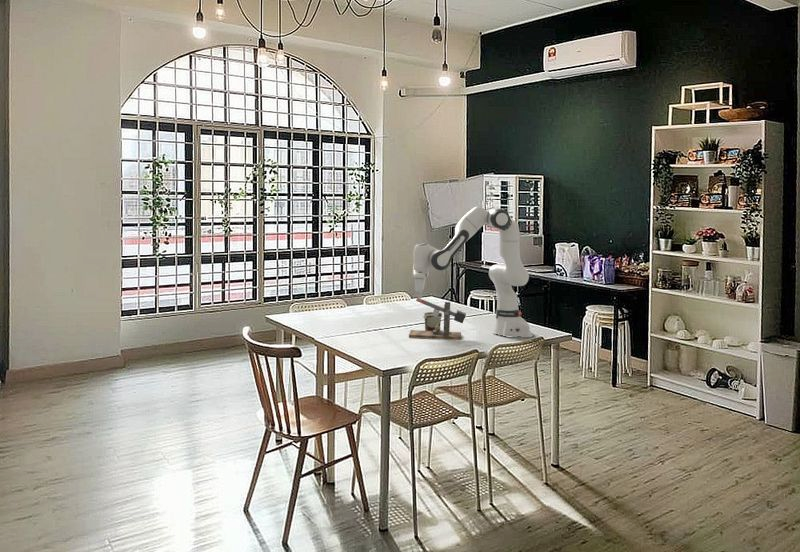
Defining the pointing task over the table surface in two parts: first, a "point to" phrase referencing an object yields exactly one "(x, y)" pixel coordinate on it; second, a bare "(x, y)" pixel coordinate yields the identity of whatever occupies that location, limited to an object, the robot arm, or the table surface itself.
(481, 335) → the table surface
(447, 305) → the toy catapult
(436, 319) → the food container
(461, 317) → the lever
